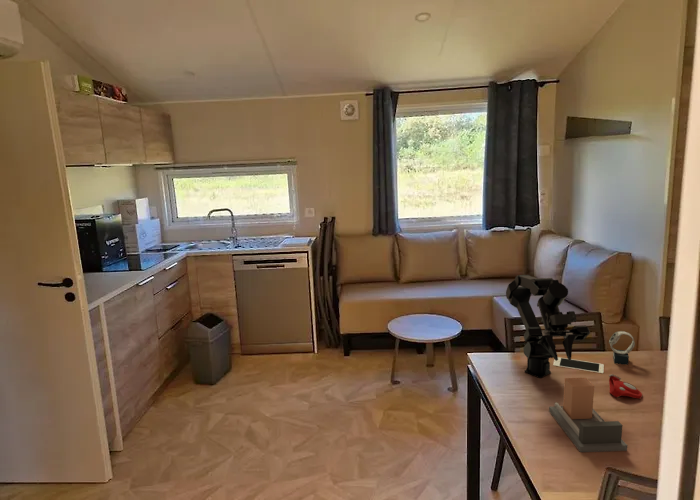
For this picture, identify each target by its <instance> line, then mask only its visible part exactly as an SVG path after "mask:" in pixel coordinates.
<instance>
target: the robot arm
mask: <svg viewBox="0 0 700 500" xmlns="http://www.w3.org/2000/svg"><path fill="white" fill-rule="evenodd" d="M532 295H533V296H535V297H537V296H541V297H539V298H538V300H537V303H536V306H537V307H538V309H539V312H540V315H541V316H540V317H541V319H540V321H541V324H543V327H544V329H542V327H541V325H540V323H539V321H538V319H537V317H536V315H535V312H534V310H533V308H532V305H531V304H530V301H531V296H532ZM568 295H569V289H568V287H566V285H565V284H563V283H561V282H559V279H553V277H545V278H543V277H542V278H538V277H535V276H532V275H530V274H518V275H515V278H514V279H513V281H511V282H510V283H508V285H507V286H506V290H505V297H506V299H507V300H508V302H509V304H510V305H511V306H513V307H514V308H516V309H517V311H518V314H519V316H520V319H521V321H522V324H523V326H524V328H525V332H524V334H523V340H524V342H525V343H526V344H524V346H523V355H524V356H525V357H526V358H527V361H526V366H527V367H526V369H524V373H526V374H529V375H532V376H534V377H536V378H539V379H542V378H544V377H546V376H547V375H549V374H551V373H552V370H550V369H551V368H550V365H551V363H550V359H554V360H556V361H557V360H558V357H559V356H558V352H557V349H556V347H557V346H556V343H555V341H554V339H553V338H554V337H556V338H557V337H563V341H562V346H563V349H564V351H565V355H566V357H567V359H568V360H571V359H572V356H573V355H572V352H573V343H574V342H575V341H585V339H586V338H587V337H588V336H589V335H590V334H591V331H590V328H589V327H588V325H585V324H583V325H574V326H573V327H572V328H571V329H567V328H568V327H569V325H570V326H571V325H572V323H573V322H574V323H575V322H577V315H576V312H575V311H574V310H571V311H570V310H569V311H566V313H563V312H562V311H560V308H559V306H561V304H562V303H563V302H564V301H565V299H566V298H567V297H568Z"/></svg>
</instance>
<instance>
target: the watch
mask: <svg viewBox="0 0 700 500" xmlns="http://www.w3.org/2000/svg"><path fill="white" fill-rule="evenodd" d="M622 335H624V336H625V335H626V336H629V338H631V340H632V341H631V343H630V344H629V346H628V348H626V349H625V350H622V349H616V348H614V347H613V345H615V344H616V343H618V341H619V340H620V338H621V336H622ZM608 344H609V345H610V349H611V350H612V351H613V353H612V358H613V363H614V364H615V365H616V364H617V365H626V366H629V358H630V356H629V354H630V353H631V352H632V350H633V349H634V348H635V344H636V342H635V339H634V337H633V335H632V334H631V333H630V332H626V331H624V330H620V331H616V332H614V333H612V335H611V337H610V338H609V340H608Z"/></svg>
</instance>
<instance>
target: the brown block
mask: <svg viewBox="0 0 700 500" xmlns="http://www.w3.org/2000/svg"><path fill="white" fill-rule="evenodd" d="M563 384H564V386H563V387H564V388H563V402H562V403H563V405H562V406H563V410H564V411H565V412H566V414H567V415H568V416H569V417H570V418H571V419H592V412H593V409H594V395H595V394H594V393H595V385H594V384H593V383H592V382H591V381H590V380H589V379H588V378H587V377H572V378H571V377H565V378H564V383H563Z"/></svg>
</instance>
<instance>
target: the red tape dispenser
mask: <svg viewBox="0 0 700 500" xmlns="http://www.w3.org/2000/svg"><path fill="white" fill-rule="evenodd" d="M608 377H609V379H608V382H609V383H608V384H609V385H608V386H609V394H610V395H612V397H614V398H618V397H621V396H623V397H624V396H625V397H630V398H632V399H633V398H634V399H642V396H643V393H642V392H641V390H639V389H638V388H637V387H636V386H635V385H633V384H631V383H629V382H626V381H621V380H622V378H621V377H620V376H618V375H615V374H609V375H608Z"/></svg>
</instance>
